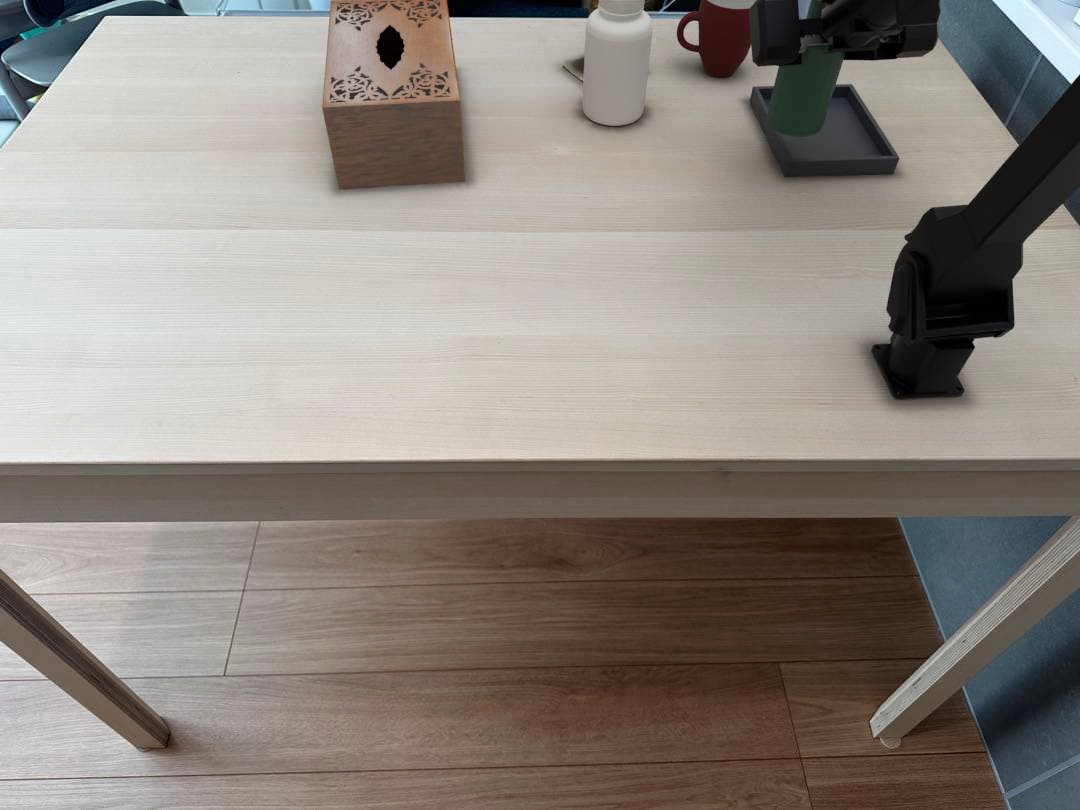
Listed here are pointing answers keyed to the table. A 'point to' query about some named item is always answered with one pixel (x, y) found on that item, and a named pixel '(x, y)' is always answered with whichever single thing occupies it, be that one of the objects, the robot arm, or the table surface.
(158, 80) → the table surface
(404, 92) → the tissue box cover
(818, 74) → the bottle
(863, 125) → the tray
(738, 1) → the mug
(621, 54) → the pill bottle
